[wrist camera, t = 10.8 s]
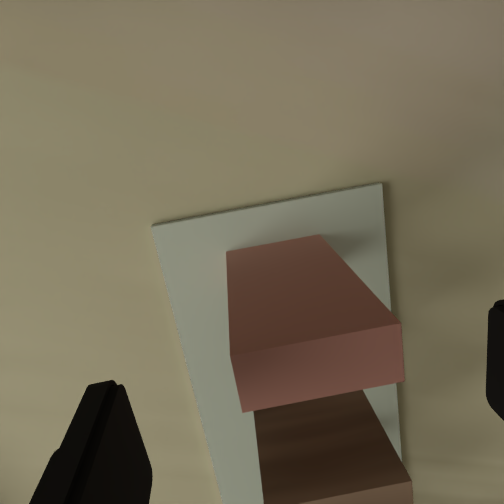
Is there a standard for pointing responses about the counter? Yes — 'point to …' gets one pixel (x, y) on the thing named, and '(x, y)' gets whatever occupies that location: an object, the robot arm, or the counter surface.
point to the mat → (216, 308)
